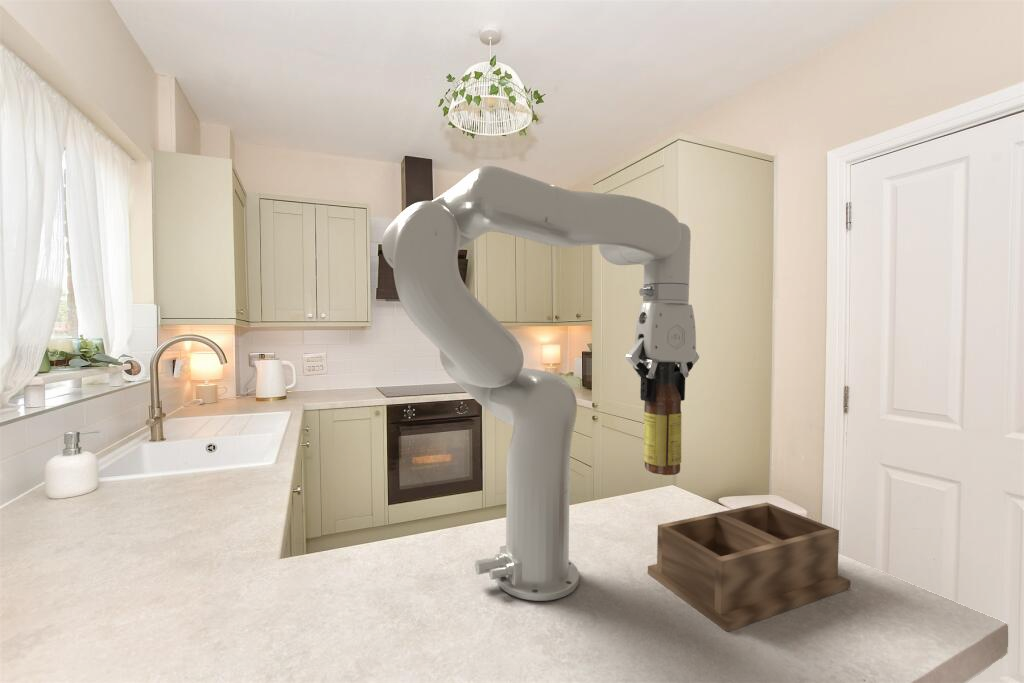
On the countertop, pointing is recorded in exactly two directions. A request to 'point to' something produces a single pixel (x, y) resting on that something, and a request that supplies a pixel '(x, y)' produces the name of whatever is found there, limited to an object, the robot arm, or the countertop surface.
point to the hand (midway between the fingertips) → (662, 399)
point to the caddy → (748, 563)
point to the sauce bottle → (663, 424)
